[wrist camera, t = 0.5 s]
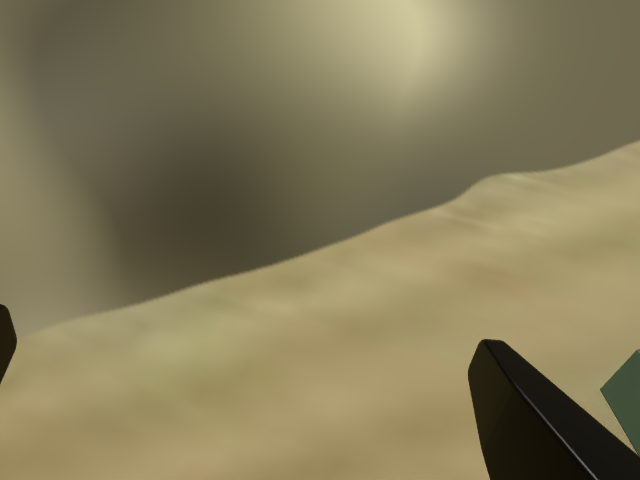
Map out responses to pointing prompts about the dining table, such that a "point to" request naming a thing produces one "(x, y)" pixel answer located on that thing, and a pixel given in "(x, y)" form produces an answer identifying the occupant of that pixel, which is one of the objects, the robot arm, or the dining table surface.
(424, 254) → the dining table surface
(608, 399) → the socket block
